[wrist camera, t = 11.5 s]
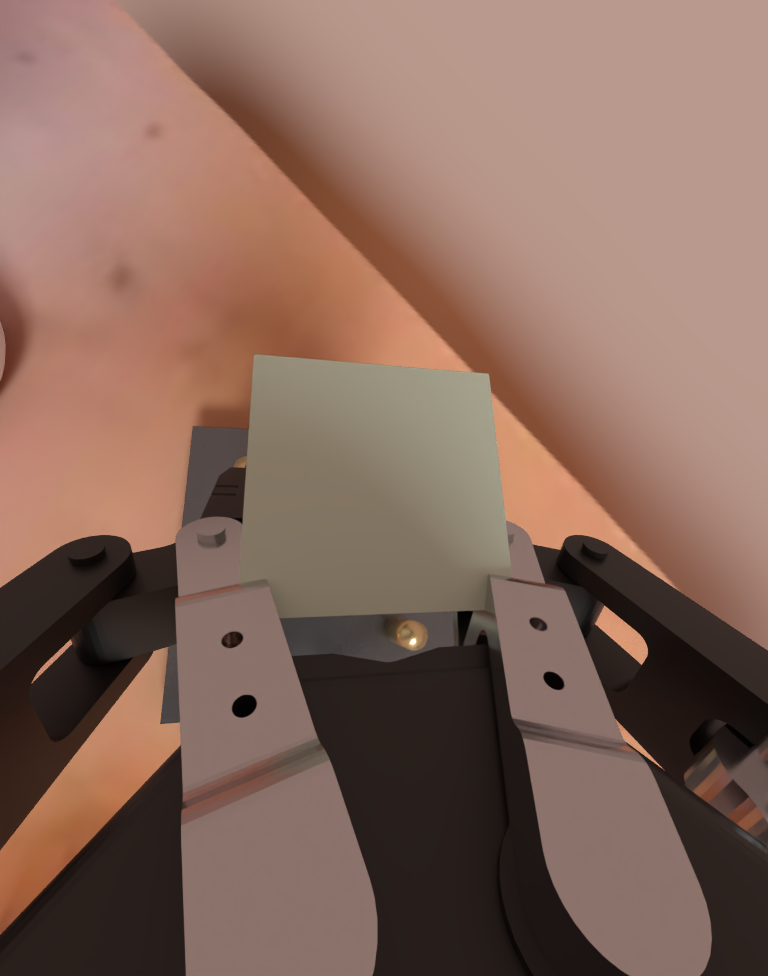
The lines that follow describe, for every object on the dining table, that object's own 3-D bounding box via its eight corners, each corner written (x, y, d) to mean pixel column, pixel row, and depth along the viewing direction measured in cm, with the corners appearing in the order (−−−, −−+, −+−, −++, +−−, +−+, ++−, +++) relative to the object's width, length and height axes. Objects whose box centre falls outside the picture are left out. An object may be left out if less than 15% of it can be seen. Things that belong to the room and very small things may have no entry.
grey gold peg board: (171, 714, 18) (126, 754, 14) (199, 437, 22) (172, 393, 17) (452, 691, 21) (496, 717, 16) (436, 448, 25) (467, 413, 20)
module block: (279, 607, 15) (236, 619, 6) (283, 496, 16) (253, 354, 7) (391, 603, 16) (516, 608, 6) (387, 498, 17) (488, 373, 8)
